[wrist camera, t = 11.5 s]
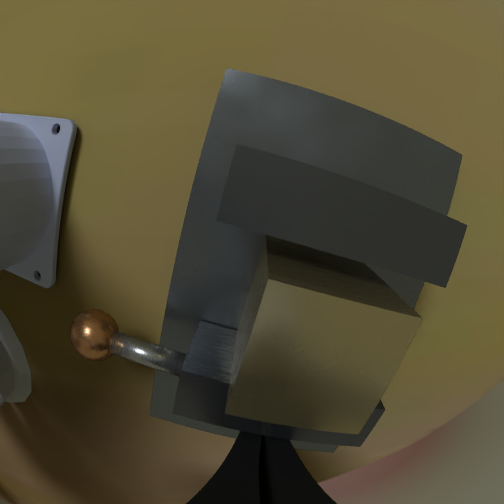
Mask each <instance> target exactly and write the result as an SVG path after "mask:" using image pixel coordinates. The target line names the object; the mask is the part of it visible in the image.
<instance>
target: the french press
mask: <svg viewBox="0 0 504 504" xmlns="http://www.w3.org/2000/svg"><path fill="white" fill-rule="evenodd" d="M31 392H32V388H31V370H30V368H29V365H28V362H27V359H26V355H25V352H24V349H23V346H22V344H21V343H20V341H19V339H18V337H17V335H16V333H15V332H14V330H13V328H12V326H11V324H10V322H9V320H8V318H7V317H6V316H5V314H4V313H3V312H2V311H1V309H0V406H1V405H2V404H3V403H4V402H5V401H6V402H10V403H17V402H25V400H26V399H27V398H28V396H29V395H30V393H31Z"/></svg>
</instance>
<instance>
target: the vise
mask: <svg viewBox="0 0 504 504" xmlns="http://www.w3.org/2000/svg"><path fill="white" fill-rule="evenodd" d="M461 159H462V154H460V153H458V152H456V151H454V150H453V149H451V148H449V147H447V146H445V145H443V144H441V143H439V142H437V141H435V140H433V139H431V138H429V137H427V136H425V135H423V134H421V133H419V132H417V131H415V130H413V129H411V128H409V127H406V126H404V125H402V124H400V123H398V122H395V121H393V120H391V119H388V118H386V117H384V116H381V115H379V114H376V113H374V112H371V111H369V110H366V109H364V108H361V107H359V106H356V105H353V104H351V103H348V102H345V101H343V100H340V99H337V98H334V97H331V96H328V95H325V94H322V93H319V92H316V91H313V90H310V89H306V88H303V87H300V86H296V85H293V84H290V83H286V82H282V81H279V80H275V79H271V78H267V77H263V76H259V75H255V74H251V73H246V72H242V71H237V70H233V69H228V68H227V70H226V73H225V76H224V79H223V82H222V85H221V88H220V91H219V94H218V98H217V101H216V104H215V107H214V111H213V114H212V117H211V121H210V124H209V128H208V131H207V135H206V138H205V142H204V145H203V149H202V152H201V156H200V160H199V163H198V167H197V171H196V175H195V179H194V182H193V186H192V190H191V194H190V198H189V202H188V207H187V211H186V215H185V219H184V223H183V228H182V232H181V236H180V241H179V245H178V250H177V255H176V259H175V264H174V269H173V274H172V279H171V284H170V289H169V294H168V299H167V304H166V310H165V315H164V321H163V327H162V333H161V338H160V345H159V346H162V347H165V348H168V349H172V350H175V351H178V352H181V353H185V354H187V353H188V351H189V348H190V346H191V343H192V341H193V338H194V336H195V333H196V331H197V328H198V326H199V323H200V321H203V322H207V323H210V324H214V325H218V326H221V327H225V328H229V329H232V330H236V331H237V330H238V327H239V323H240V320H241V316H242V313H243V310H244V306H245V303H246V300H247V296H248V293H249V289H250V286H251V283H252V279H253V276H254V273H255V269H256V266H257V262H258V259H259V255H260V252H261V249H262V245H263V242H264V238H265V235H268V236H272V237H275V238H279V239H282V240H286V241H289V242H293V243H296V244H300V245H303V246H307V247H310V248H314V249H317V250H321V251H324V252H327V253H331V254H334V255H338V256H341V257H345V258H348V259H351V260H355V261H358V262H361V263H365V264H366V265H367V266H368V267H369V268H370V269H371V270H373V271H374V272H375V273H376V274H377V275H378V276H379V277H380V278H381V279H382V280H383V281H384V282H385V283H386V284H388V285H389V286H390V287H391V288H392V289H393V290H394V291H395V292H396V293H397V294H398V295H399V296H400V297H401V298H402V299H403V300H404V301H405V302H406V303H407V304H408V305H409V306H411V307H412V308H414V306H415V304H416V301H417V299H418V297H419V294H420V292H421V289H422V287H423V284H424V282H428V283H431V284H435V285H438V286H441V287H444V288H446V285H447V283H448V280H449V278H450V275H451V272H452V270H453V267H454V264H455V261H456V259H457V256H458V253H459V250H460V247H461V244H462V241H463V238H464V235H465V231H466V228H467V225H465V224H463V223H461V222H459V221H457V220H454V219H452V218H450V217H448V216H447V214H448V211H449V207H450V204H451V200H452V197H453V193H454V189H455V185H456V181H457V177H458V173H459V168H460V164H461ZM178 381H179V377H178V376H175V375H171V374H168V373H165V372H162V371H159V370H155V377H154V384H153V392H152V399H151V407H150V415H151V416H154V417H157V418H160V419H164V420H167V421H170V422H173V423H177V424H180V425H184V426H187V427H191V428H195V429H198V430H202V431H206V432H210V433H214V434H218V435H223V436H227V437H232V438H236V439H237V437H238V435H239V432H240V431H239V430H234V429H230V428H225V427H221V426H217V425H213V424H209V423H205V422H201V421H197V420H193V419H190V418H186V417H183V416H179V415H176V414H173V413H172V412H173V407H174V402H175V397H176V391H177V386H178ZM290 441H291V443H292V445H293V447H294V448H295V449H303V450H312V451H322V452H334V451H335V450H336V448H337V447H338V445H331V444H321V443H312V442H304V441H296V440H290Z"/></svg>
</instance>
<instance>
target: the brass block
mask: <svg viewBox="0 0 504 504" xmlns="http://www.w3.org/2000/svg"><path fill="white" fill-rule="evenodd" d="M422 319H423V318H422V317H421V316H420V315H419V314H418V313H417V312H416V311H415V310H414V309H413V308H412V307H411V306H409V305H408V304H407V303H406V302H405V301H404V300H403V299H402V298H401V297H400V296H399V295H398V294H397V293H396V292H395V291H394V290H393V289H392V288H391V287H390V286H389V285H388V284H386V283H385V282H384V281H383V280H382V279H381V278H380V277H379V276H378V275H377V274H376V273H375V272H374V271H373V270H371V269H370V268H369V267H368V266H367V265H366V264H365V263H361V262H358V261H355V260H351V259H348V258H345V257H341V256H338V255H334V254H331V253H327V252H324V251H321V250H317V249H314V248H310V247H307V246H303V245H300V244H296V243H293V242H289V241H286V240H282V239H279V238H275V237H272V236H268V235H265V238H264V242H263V245H262V249H261V252H260V255H259V259H258V262H257V266H256V269H255V273H254V276H253V279H252V283H251V286H250V289H249V293H248V296H247V300H246V303H245V306H244V310H243V313H242V316H241V320H240V323H239V327H238V330H237V337H236V343H235V350H234V356H233V363H232V369H231V376H230V382H229V389H228V396H227V402H226V409H225V414H229V415H234V416H238V417H243V418H247V419H252V420H257V421H262V422H267V423H273V424H279V425H285V426H291V427H297V428H304V429H311V430H319V431H328V432H337V433H348V434H359V432H360V431H361V429H362V428H363V426H364V425H365V423H366V422H367V420H368V419H369V417H370V415H371V414H372V412H373V411H374V409H375V407H376V406H377V404H378V403H379V401H380V399H381V398H382V396H383V394H384V393H385V391H386V389H387V387H388V386H389V384H390V382H391V380H392V379H393V377H394V375H395V373H396V371H397V369H398V368H399V366H400V364H401V362H402V360H403V358H404V356H405V354H406V352H407V350H408V348H409V346H410V344H411V342H412V340H413V338H414V336H415V334H416V332H417V330H418V328H419V326H420V323H421V321H422Z"/></svg>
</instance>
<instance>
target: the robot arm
mask: <svg viewBox="0 0 504 504" xmlns="http://www.w3.org/2000/svg"><path fill="white" fill-rule="evenodd" d="M59 125H60V131H59V133H58V134H57V127H58V126H59ZM76 132H77V126H76V123H75V122H74V121H72V120H68V119H61V118H52V117H43V116H32V115H21V114H7V113H0V271H1V270H4V269H5V270H7V271H9V272H11V273H13V274H15V275H17V276H19V277H21V278H24V279H26V280H28V281H30V282H32V283H35V284H37V285H39V286H42V287H44V288H50V287H51V286H53V285H54V284H55V281H56V264H57V250H58V239H59V229H60V220H61V212H62V205H63V198H64V192H65V186H66V180H67V174H68V169H69V164H70V159H71V154H72V150H73V145H74V141H75V137H76ZM38 272H39V273H40V275H41V278H40V277H39V275H38ZM186 504H337V503H336V502H335V501H333V500H332V499H331V498H330V497H329V496H328V495H327V494H326V493H325V492H324V490H323V489H322V488H321V487H320V486H319V485H318V484H317V482H316V481H315V480H314V479H313V477H312V476H311V475H310V473H309V472H308V470H307V469H306V467H305V466H304V464H303V463H302V461H301V460H300V458H299V456H298V455H297V453H296V451H295V449H294V447H293V445H292V443H291V441H290V440H289V439H282V438H276V437H270V436H264V435H259V434H254V433H249V432H244V431H240V432H239V435H238V437H237V439H236V441H235V443H234V445H233V447H232V449H231V450H230V452H229V454H228V455H227V457H226V459H225V460H224V462H223V463H222V465H221V466H220V467H219V469H218V470H217V472H216V473H215V474H214V475H213V477H212V478H211V479H210V480H209V481H208V483H207V484H206V485H205V486H204V487H203V488H202V489H201V490H200V491H199V492H198V493H197V494H196V495H195V496H194V497H193V498H192V499H191V500H190V501H189V502H187V503H186Z"/></svg>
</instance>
